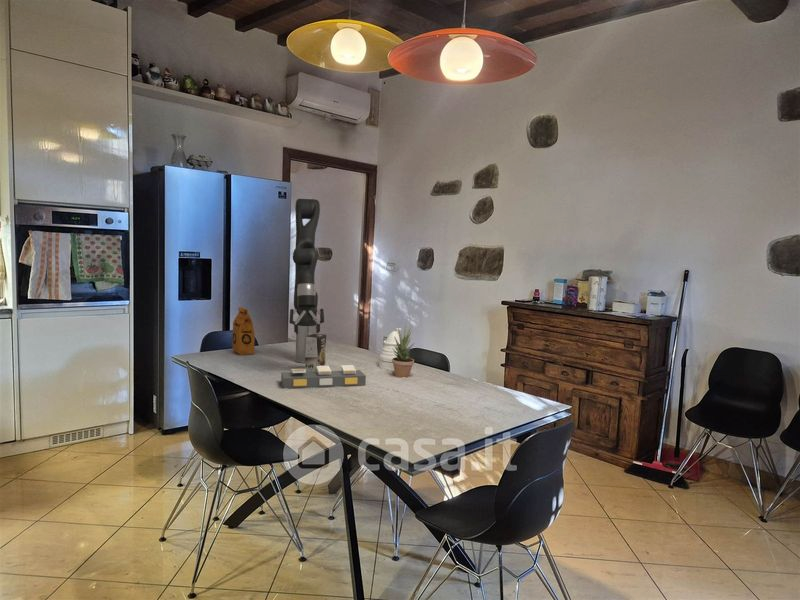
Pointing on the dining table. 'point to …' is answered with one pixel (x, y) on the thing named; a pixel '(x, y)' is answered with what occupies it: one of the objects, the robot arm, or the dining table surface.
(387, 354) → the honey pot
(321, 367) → the switch
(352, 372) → the switch
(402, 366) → the potted plant
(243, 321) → the coffee package
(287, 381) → the switch box
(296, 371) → the switch
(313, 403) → the dining table surface
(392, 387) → the dining table surface
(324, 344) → the coffee box
